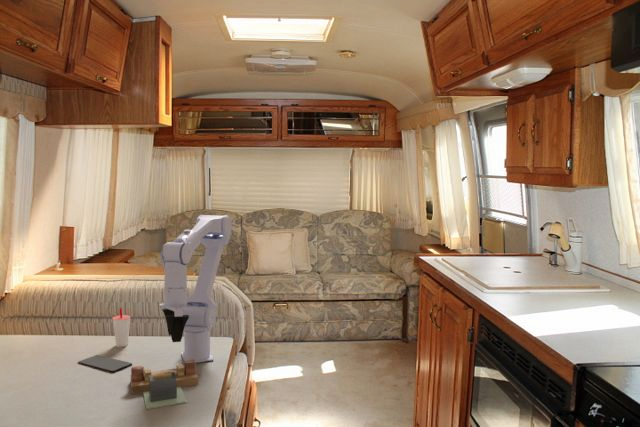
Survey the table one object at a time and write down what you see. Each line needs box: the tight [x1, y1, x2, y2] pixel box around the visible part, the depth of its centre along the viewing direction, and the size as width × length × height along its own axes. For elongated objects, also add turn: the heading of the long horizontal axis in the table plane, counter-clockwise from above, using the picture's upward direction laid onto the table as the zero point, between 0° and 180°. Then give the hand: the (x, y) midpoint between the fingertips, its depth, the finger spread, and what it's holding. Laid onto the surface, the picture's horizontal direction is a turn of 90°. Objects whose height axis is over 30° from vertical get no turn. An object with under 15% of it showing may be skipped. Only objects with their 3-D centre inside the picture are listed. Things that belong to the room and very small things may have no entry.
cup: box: [111, 307, 131, 348], centre depth 161 cm, size 5×5×12 cm
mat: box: [142, 387, 187, 410], centre depth 124 cm, size 9×9×1 cm
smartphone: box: [77, 354, 133, 374], centre depth 145 cm, size 7×1×15 cm
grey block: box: [149, 371, 177, 402], centre depth 123 cm, size 4×6×6 cm, turn 113°
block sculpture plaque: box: [130, 359, 199, 395], centre depth 132 cm, size 8×16×5 cm, turn 113°
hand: (174, 338), depth 136 cm, fingers open, 7 cm apart
